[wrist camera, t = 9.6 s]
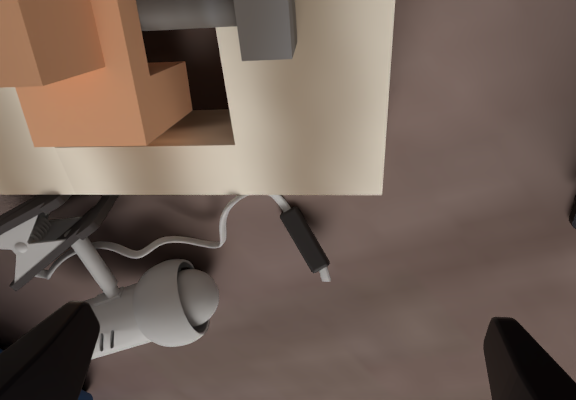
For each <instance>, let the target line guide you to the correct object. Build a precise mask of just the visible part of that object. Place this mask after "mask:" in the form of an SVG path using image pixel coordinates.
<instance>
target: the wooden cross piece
mask: <svg viewBox="0 0 576 400" xmlns="http://www.w3.org/2000/svg"><path fill="white" fill-rule="evenodd" d="M3 87H15V89H16V92H17V95H18V98H19V101H20V104H21V107H22V110H23V114H24V117H25V120H26V123H27V126H28V129H29V132H30V135H31V138H32V141H33V145H34V147H81V146H147V145H148V144H149V143H151V142H152V141H153V140H155V139H156V138H157V137H159V136H160V135H161V134H162V133H164V132H165V131H166V130H168V129H169V128H170V127H172V126H173V125H174V124H175V123H177V122H178V121H179V120H181V119H182V118H183V117H185V116H186V115H187V114H189V113H190V112H191V111H192V103H191V96H190V90H189V83H188V76H187V70H186V63H185V61H179V62H154V63H147V58H146V52H145V47H144V42H143V36H142V31H141V26H140V20H139V15H138V10H137V4H136V0H0V88H3Z"/></svg>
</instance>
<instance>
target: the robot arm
mask: <svg viewBox="0 0 576 400" xmlns="http://www.w3.org/2000/svg"><path fill="white" fill-rule="evenodd" d="M569 221H570V223H571V225H572V226H573V228H575V229H576V196H575V204H574V206H573V209H572V211H571V214H570V216H569ZM99 333H100V323H99V321H98V319H97V317H96V315H95V313H94V311H93V310H92V308H91V306H90V304H89V303H88V302H85V301H70V302H68V303H66V304H65V305H63V306H62V307H61V308H59V309H58V310H57V311H55V312H54V313H53V314H51V315H50V316H49V317H47V318H46V319H45V320H44V321H42V322H41V323H40V324H38V325H37V326H36V327H34V328H33V329H32V330H30V331H29V332H28V333H26V334H25V335H24V336H22V337H21V338H20V339H18V340H17V341H16V342H14V343H13V344H12V345H10V346H9V347H8V348H7V349H5V350H4V351H3V352H1V353H0V400H78V398H79V395H80V392H81V389H82V387H83V384H84V380H85V377H86V374H87V371H88V368H89V365H90V361H91V358H92V355H93V352H94V349H95V346H96V343H97V339H98V336H99ZM484 355H485V361H486V367H487V373H488V378H489V384H490V390H491V396H492V400H576V383H575V382H574V381H573V380H572V378H571V377H570V376H569V375H568V374H567V373H566V372H565V371H564V370H563V369H562V368H561V367H560V366H559V365H558V364H557V363H556V362H555V361H554V360H553V358H552V357H551V356H550V355H549V354H548V353H547V352H546V351H545V350H544V349H543V348H542V347H541V346H540V345H539V344H538V343H537V342H536V341H535V340H534V338H533V337H532V336H531V335H530V334H529V333H528V332H527V331H526V330H525V329H524V328H523V327H522V326H521V325H520V324H519V323H518V322H517V321H516V320H515V319H513V318H510V317H493V318H492V319H491V321H490V323H489V326H488V329H487V333H486V336H485V339H484Z"/></svg>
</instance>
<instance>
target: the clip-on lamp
mask: <svg viewBox="0 0 576 400" xmlns="http://www.w3.org/2000/svg"><path fill="white" fill-rule="evenodd" d="M70 196H71V195H37V196H35V197H34V198H32V199H30V200H28V201H26V202H24V203H23V204H21V205H19V206H17V207H15V208H13V209H12V210H10V211H8V212H6V213H4V214H2V215H1V216H0V249H7V250H13V252H14V253H15V254H16V269H15V279H14V280H13V282H12V283H11V284H10V287H11V288H12V289H14V290H15V291H17V290H19V289H20V288H21V287H23V286H24V285H25V284H26V283H27V282H29V281H30V280H31V279H32V278H33V277H34V276H35V277H41V278H46V279H50V277H51V275H52V274H53V272H54V271H55V270H56V268H57V267H58V266H59V265H60V264H61V263H62V262H63V261H65V260H66V259H68V258H69V257H71V256H73V255H75V254H77V255H78V256H79V258H80V259H81V261H82V262H83V264H84V265H85V266H86V268H87V269H88V271H89V272H90V274H91V275H92V276H93V278H94V279H95V281H96V282H97V284H98V285H99V286H100V287H101V289H102V291H103V292H104V293H102V294H99V295H97V297H95V298H92V299H89V300H86V301H85V302H88V303H89V304H90V306H91V308H92V310H93V311H94V313H95V315H96V317H97V319H98V321H99V323H100V333H99V336H98V339H97V343H96V346H95V349H94V352H93V355H92V358H91V359H95V358H98V357H101V356H105V355H108V354H111V353H115V352H118V351H122V350H125V349H128V348H132V347H135V346H138V345H142V344H145V343H149V342H154V343H156V344H159V345H162V346H167V347H175V346H182V345H186V344H190V343H192V342H194V341H196V340H198V339H199V338H200V337H202V336H203V335H204V334H205V333H206V332H207V330H208V327H209V322H210V317H211V316H212V315H213V314H214V312H215V311H216V309H217V306H218V302H219V291H218V287H217V285H216V283H215V281H214V280H213V279H212V278H211V277H210V276H209V275H208V274H207V273H205V272H203V271H200V270H196V269H194V267H193V265H192V264H191V263H190V262H189V261H187V260H184V259H171V260H167V261H164V262H162V263H159V264H157V265H155V266H153V267H152V268H150V269H149V270H148V271H146V272H145V273H144V274H143V276H142V277H141V278H140V280H139V281H138V283H136V284H133V285H130V286H127V287H120V288H118V286H117V283H118V282H117V280H116V278H115V277H114V276H113V274H112V273H111V271H110V270H109V268H108V267H107V265H106V264H105V262H104V261H103V259H102V258H101V256H100V255H99V253H98V252H97V250H96V249H107V250H111V251H114V252H117V253H119V254H122V255H124V256H126V257H129V258H134V259H137V258H141V257H144V256H145V255H147V254H149V253H150V252H151V251H153V250H154V249H155V248H157V247H159V246H160V245H163V244H166V243H174V242H176V243H186V244H192V245H197V246H202V247H207V248H219V247H221V246H222V245H223V243H224V242H225V241H226V218H227V216H228V213H229V211H230V210H231V208H232V207H233V206H234V205H235V204H236V203H237V202H238V201H239V200H241V199H242V198H244V197H246V196H248V195H237V196H236V197H235V198H233V199H232V200H231V201H230V202H229V203H228V204H227V205H226V207H225V208H224V209H223V212H222V214H221V217H220V222H219V233H220V242H212V241H205V240H200V239H195V238H189V237H182V236H167V237H162V238H159V239H157V240H155V241H154V242H152V243H151V244H149V245H148V246H147V247H145V248H144V249H142V250H139V251H135V250H131V249H129V248H126V247H124V246H122V245H119V244H117V243H112V242H104V241H98V242H92V243H91V241H90V240H89V238H88V236H89V235H91V234H92V233H93V232H95V231H96V230H97V229H98V228H99V227H100V225H101V224H102V222H103V220H104V219H105V217H106V216H107V214H108V212H109V211H110V209H111V207H112V206H113V204H114V203H115V201H116V199H117V198H118V196H119V195H104V196H103V197H102V198H101V199H100V200H99V201H98V203H97V204H96V205H95V206H94V207H93V208H92V209H91V210H89V211H88V212H87V213H86V214H85V215H83V216H82V217H74V218H64V219H54V220H49V219H48V216H49V213H50V212H51V211H53V210H55V209H56V208H58V207H60V206H61V205H63V204H64V203H65V202H66V201H67V200H68V199H69V198H70ZM269 196H271V197H272V198H273V199H274V200H275V201H276V203H277V204H278V205H279V206H280V208H281V209H282V210H283V212H284V213H282V214H281V215H280V218H281V220H282V222H283V223H284V225H285V227H286V229H287V230H288V232H289V234H290V236H291V237H292V239H293V241H294V242H295V244H296V246H297V248H298V249H299V251H300V253H301V254H302V256H303V258H304V260H305V261H306V263H307V265H308V266H309V268H310V270H311V272H313V273H316V272H318V271H319V272H320V276H321V279H322V281H325V282H329V281H331V279H330V275H329V271H328V268H327V266H328V265H329V264H330V262H329V260H328V258H327V256H326V255H325V253H324V251H323V249H322V248H321V246H320V244H319V242H318V241H317V239H316V237H315V236H314V234H313V232H312V230H311V229H310V227H309V225H308V224H307V222H306V220H305V218H304V217H303V215H302V213H301V211H300V210H299V208H298V207H292V208H291V207H290V206H289V204H288V203H287V201H286V200H285V199H284V198H283V197H282V196H281V195H269ZM70 246H71V247H72V248H73V249H71V250H69V251H67V252H66V253H64V254H63V255H61V254H62V253H63V252H64V251H65V250H67V249H68V248H69V247H70ZM59 255H61V256H60V257H59V258H58V259H57V260H56V261H55V262H54V263H53V264H52V266H51V267H50V269H49V270H45V269H44V268H45V267H46V266H48V265H49V264H50V263H51V262H52V261H54V260H55V259H56V258H57V257H58V256H59ZM184 267H189V268H190V269H186V270H182V271H181V268H184Z"/></svg>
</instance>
